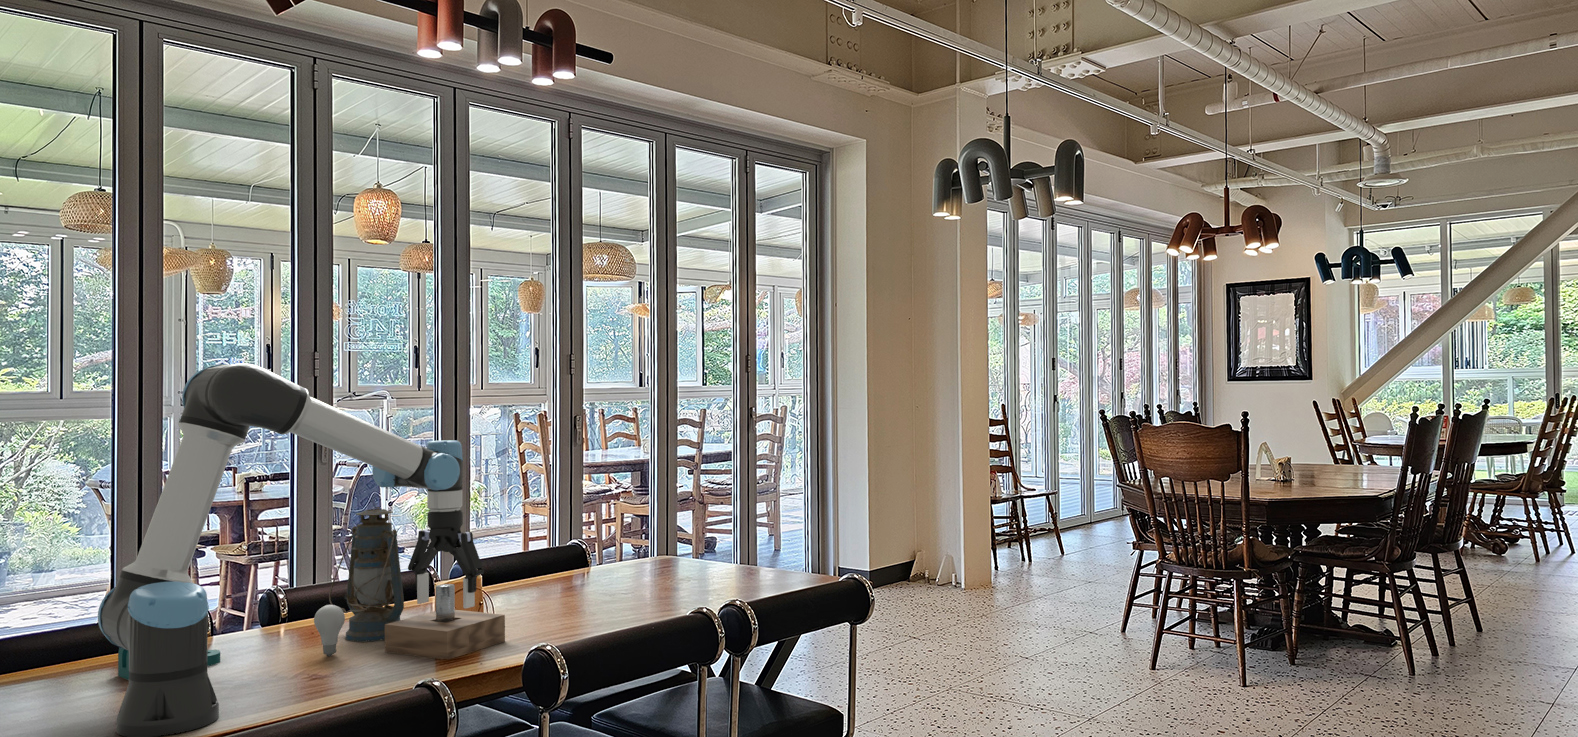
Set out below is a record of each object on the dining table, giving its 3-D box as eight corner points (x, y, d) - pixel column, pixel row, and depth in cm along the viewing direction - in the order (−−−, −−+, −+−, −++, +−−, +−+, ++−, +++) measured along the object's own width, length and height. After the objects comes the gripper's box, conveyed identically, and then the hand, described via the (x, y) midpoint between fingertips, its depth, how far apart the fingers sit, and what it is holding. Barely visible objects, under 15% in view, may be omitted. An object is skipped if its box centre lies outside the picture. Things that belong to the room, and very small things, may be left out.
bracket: (130, 682, 207) (130, 642, 207) (118, 676, 211) (118, 637, 211) (225, 663, 220) (225, 626, 221) (212, 658, 225) (212, 622, 225)
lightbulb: (333, 660, 221) (333, 608, 221) (307, 659, 222) (307, 607, 222) (350, 653, 227) (350, 602, 227) (326, 652, 228) (325, 601, 228)
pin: (445, 642, 229) (445, 587, 230) (432, 640, 231) (431, 586, 231) (458, 638, 233) (458, 584, 233) (445, 636, 235) (444, 583, 235)
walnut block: (447, 659, 220) (446, 631, 220) (384, 651, 228) (384, 624, 228) (504, 641, 236) (504, 614, 236) (444, 634, 244) (444, 608, 244)
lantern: (425, 634, 245) (424, 506, 245) (373, 647, 232) (373, 512, 233) (370, 625, 254) (370, 503, 255) (318, 638, 242) (317, 508, 243)
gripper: (500, 509, 231) (500, 605, 230) (416, 505, 241) (416, 597, 241) (476, 513, 224) (476, 612, 223) (391, 509, 235) (391, 603, 234)
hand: (445, 605), depth 232 cm, fingers open, 13 cm apart
